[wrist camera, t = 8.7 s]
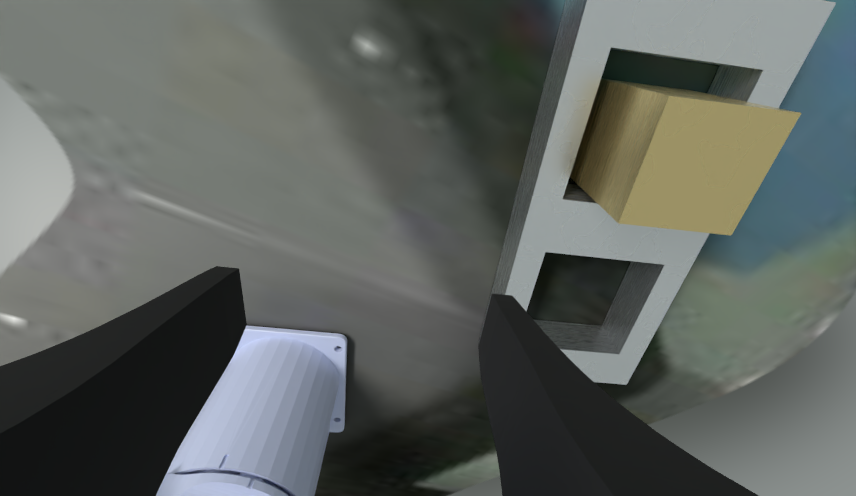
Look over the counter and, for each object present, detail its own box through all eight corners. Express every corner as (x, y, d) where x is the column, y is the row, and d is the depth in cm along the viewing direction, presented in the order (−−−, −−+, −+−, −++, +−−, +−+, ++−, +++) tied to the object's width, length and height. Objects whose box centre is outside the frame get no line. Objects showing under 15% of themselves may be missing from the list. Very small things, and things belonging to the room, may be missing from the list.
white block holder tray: (609, 355, 26) (626, 384, 23) (478, 343, 25) (483, 372, 23) (779, 7, 16) (836, 2, 14) (572, -27, 15) (597, -37, 13)
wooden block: (649, 182, 20) (731, 235, 14) (565, 172, 19) (618, 223, 14) (688, 89, 18) (801, 112, 12) (594, 77, 17) (669, 95, 12)
